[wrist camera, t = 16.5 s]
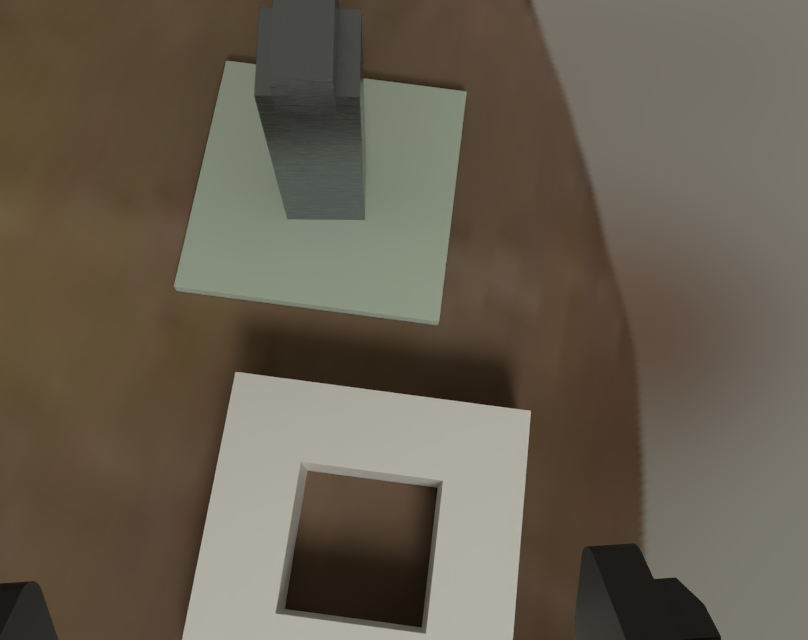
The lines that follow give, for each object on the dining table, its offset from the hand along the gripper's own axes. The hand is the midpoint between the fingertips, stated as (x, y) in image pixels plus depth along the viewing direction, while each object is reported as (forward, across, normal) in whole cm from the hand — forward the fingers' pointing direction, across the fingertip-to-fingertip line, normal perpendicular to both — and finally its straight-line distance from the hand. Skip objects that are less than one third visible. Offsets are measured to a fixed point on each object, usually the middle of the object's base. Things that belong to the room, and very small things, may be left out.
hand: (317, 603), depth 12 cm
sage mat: (+28, +1, +3) cm, 28 cm away
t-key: (+27, +1, +2) cm, 27 cm away
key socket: (+16, 0, +14) cm, 21 cm away
